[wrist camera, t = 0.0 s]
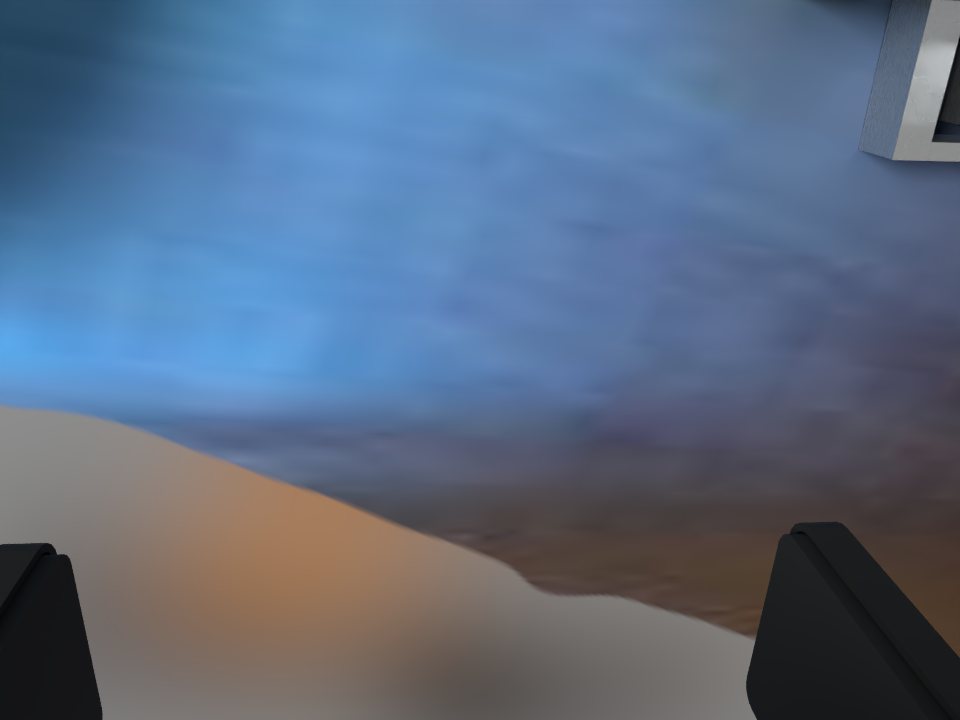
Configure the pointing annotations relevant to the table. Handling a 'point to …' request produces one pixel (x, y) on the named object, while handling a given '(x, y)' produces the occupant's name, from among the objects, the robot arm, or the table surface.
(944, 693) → the robot arm
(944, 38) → the grey block holder tray
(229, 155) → the table surface
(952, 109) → the seated steel block
